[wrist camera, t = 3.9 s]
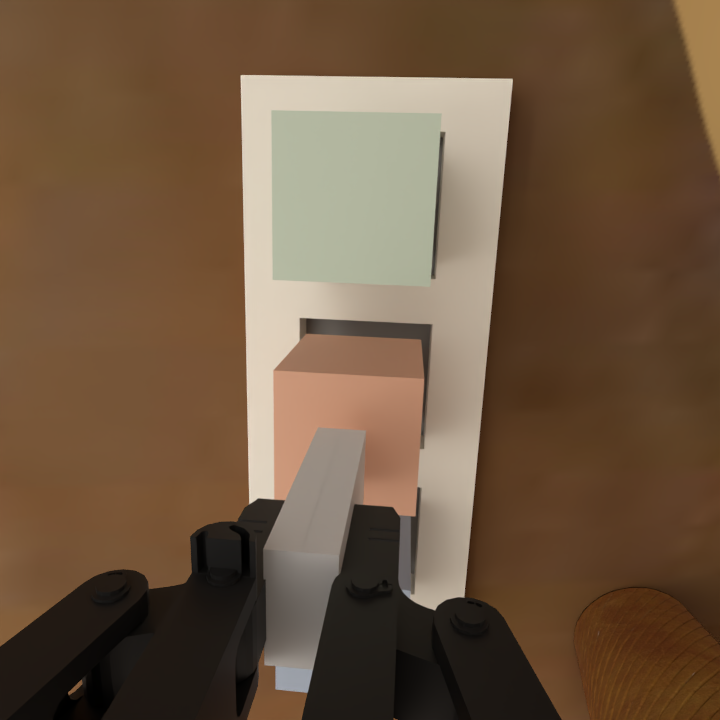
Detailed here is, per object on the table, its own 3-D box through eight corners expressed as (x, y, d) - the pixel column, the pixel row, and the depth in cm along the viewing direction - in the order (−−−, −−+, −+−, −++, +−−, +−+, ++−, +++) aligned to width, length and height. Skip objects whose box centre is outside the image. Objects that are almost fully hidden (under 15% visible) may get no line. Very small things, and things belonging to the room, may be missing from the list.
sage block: (307, 138, 22) (271, 110, 16) (433, 141, 22) (441, 113, 16) (306, 264, 23) (272, 280, 18) (425, 269, 23) (430, 286, 17)
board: (253, 86, 25) (240, 75, 23) (504, 90, 24) (512, 78, 22) (261, 588, 31) (251, 613, 29) (458, 605, 30) (460, 632, 28)
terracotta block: (306, 333, 24) (273, 370, 18) (421, 339, 24) (424, 379, 18) (305, 440, 25) (274, 505, 20) (414, 447, 25) (415, 516, 19)
